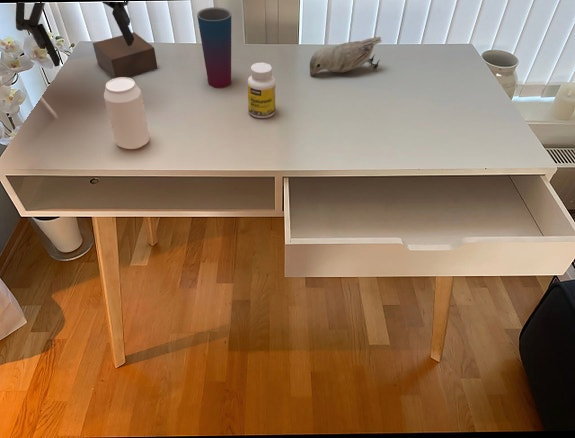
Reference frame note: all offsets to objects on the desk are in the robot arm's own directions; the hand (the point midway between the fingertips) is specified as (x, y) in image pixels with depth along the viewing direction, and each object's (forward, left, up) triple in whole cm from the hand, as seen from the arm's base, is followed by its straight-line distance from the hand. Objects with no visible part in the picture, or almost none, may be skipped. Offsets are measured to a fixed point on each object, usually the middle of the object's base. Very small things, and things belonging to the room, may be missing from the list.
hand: (95, 52), depth 91 cm
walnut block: (+9, +21, -14) cm, 27 cm away
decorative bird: (+52, -3, -14) cm, 54 cm away
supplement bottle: (+28, -10, -14) cm, 33 cm away
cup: (+25, +5, -14) cm, 29 cm away
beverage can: (+2, -9, -14) cm, 17 cm away
